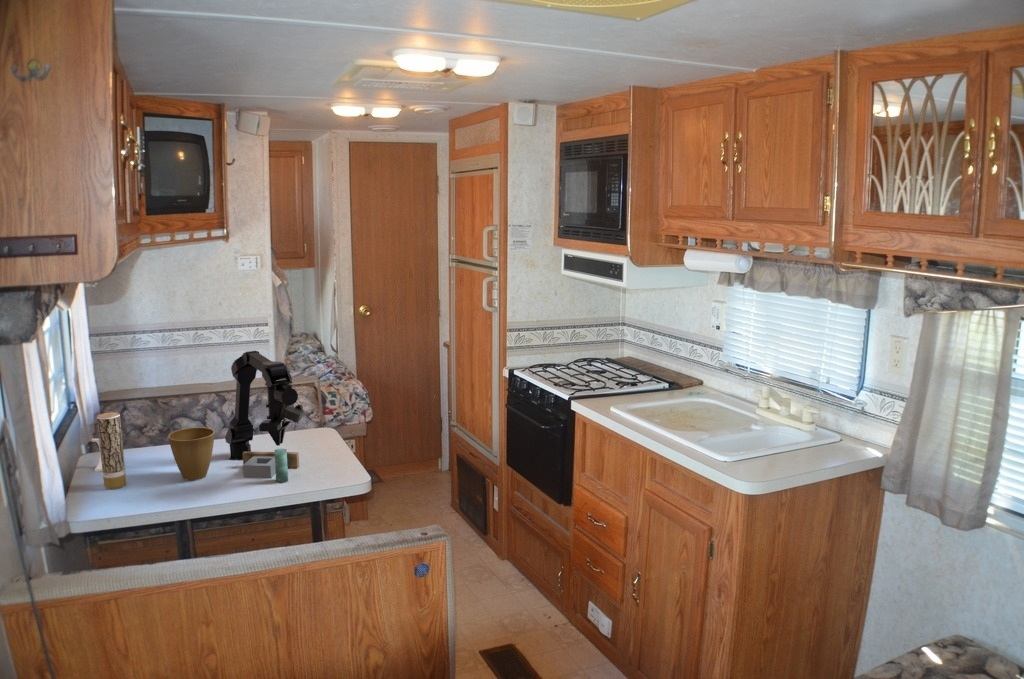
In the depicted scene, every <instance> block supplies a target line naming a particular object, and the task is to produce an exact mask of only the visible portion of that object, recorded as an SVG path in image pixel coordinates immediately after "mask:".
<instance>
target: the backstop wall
mask: <svg viewBox="0 0 1024 679" xmlns="http://www.w3.org/2000/svg"><path fill="white" fill-rule="evenodd" d="M242 454H243V460H242V465H243V464H245V463H246V462H247V461H248V460H249V459H251V458H252V457H253V456H275V453H274V451H251V452H247V451H245V452H243V453H242ZM287 466H288V469H293V470H297V469H299V468H300V454H299V452H298V451H297V452H296V451H295V452H293V451H290V452H289V451H287Z"/></svg>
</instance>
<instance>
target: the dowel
mask: <svg viewBox="0 0 1024 679" xmlns="http://www.w3.org/2000/svg"><path fill="white" fill-rule="evenodd" d="M273 452H274V453H275V470H276V474H275V482H276V483H278V484H285V483H288V482H289V471H288V466H287V452H288V451H287V448H277V449H274V450H273Z"/></svg>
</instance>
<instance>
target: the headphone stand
mask: <svg viewBox="0 0 1024 679" xmlns="http://www.w3.org/2000/svg"><path fill="white" fill-rule="evenodd" d="M90 441H91V442H93V443H95V442H96V443H97V445H98V448H99V450H100V442H99V438H91V440H90ZM94 472H95V473H96V472H97V473H99V472H103V471H102V461H101V452H100V451H99V460H98V463H97V466H96V467H95V469H94Z"/></svg>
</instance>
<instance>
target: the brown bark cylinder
mask: <svg viewBox="0 0 1024 679" xmlns="http://www.w3.org/2000/svg"><path fill="white" fill-rule="evenodd" d="M120 414H121V413H120V412H115V411H114V412H105V413H100V414H98V415H96V419H97V420H96V422H97V433H98V439H99V442H100V449H99V453H100V452H101V461H102V471H101V472H102V478H103V486H104V488H105V489H107V490H116V489H120V488H123V487H125V486H126V484H127V476H126V464H125V453H124V445H123V443H124V442H123V435H122V434H123V433H122V424H121V423H122V422H121V415H120Z"/></svg>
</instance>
